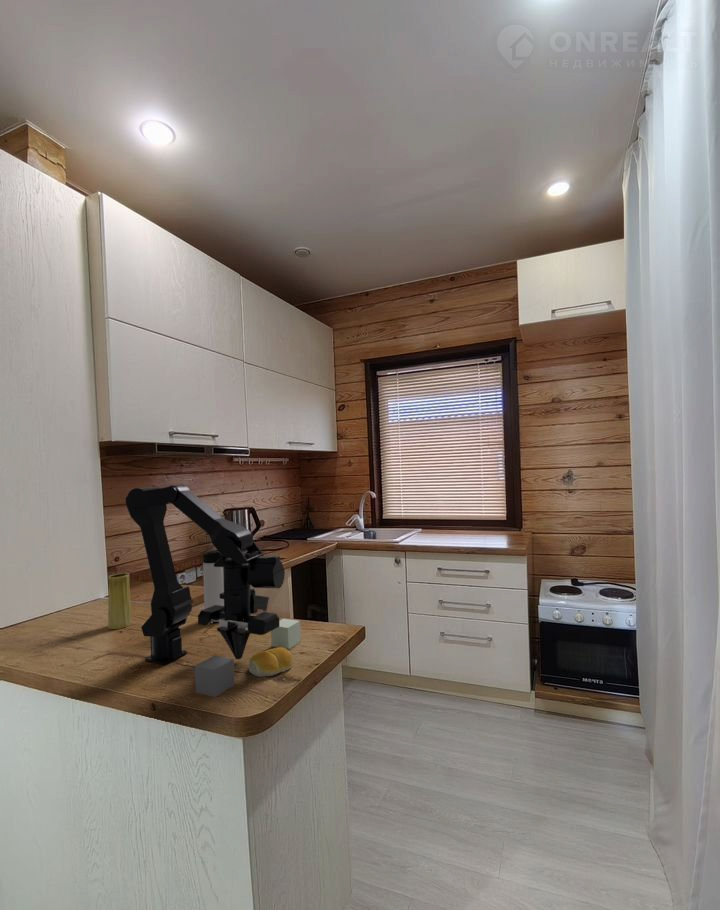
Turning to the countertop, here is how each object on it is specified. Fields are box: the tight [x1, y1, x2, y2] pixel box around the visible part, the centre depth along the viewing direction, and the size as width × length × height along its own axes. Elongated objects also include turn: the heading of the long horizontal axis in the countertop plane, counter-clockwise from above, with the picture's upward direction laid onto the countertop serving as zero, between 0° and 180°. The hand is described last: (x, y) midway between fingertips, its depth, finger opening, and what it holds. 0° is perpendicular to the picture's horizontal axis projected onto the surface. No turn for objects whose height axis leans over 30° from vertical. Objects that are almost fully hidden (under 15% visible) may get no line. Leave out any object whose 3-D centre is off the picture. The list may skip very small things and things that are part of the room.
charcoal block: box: [194, 655, 235, 698], centre depth 84 cm, size 5×5×5 cm
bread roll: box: [248, 647, 294, 678], centre depth 92 cm, size 8×9×4 cm
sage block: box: [270, 618, 302, 650], centre depth 105 cm, size 5×5×5 cm
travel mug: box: [202, 549, 224, 624], centre depth 126 cm, size 6×7×20 cm
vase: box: [107, 572, 133, 630], centre depth 125 cm, size 6×6×14 cm
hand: (238, 658), depth 96 cm, fingers closed
